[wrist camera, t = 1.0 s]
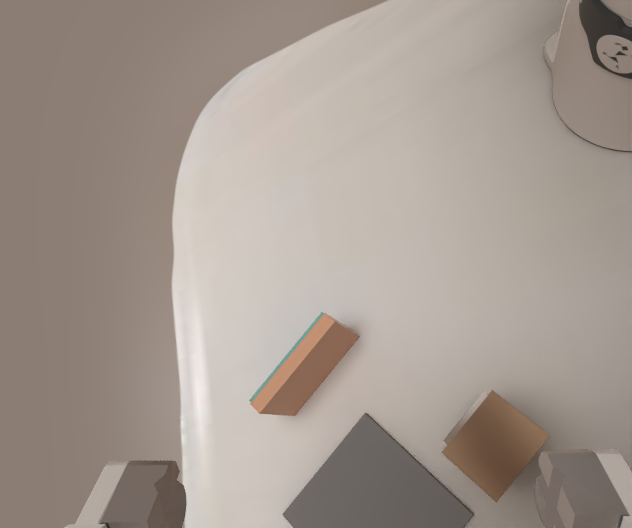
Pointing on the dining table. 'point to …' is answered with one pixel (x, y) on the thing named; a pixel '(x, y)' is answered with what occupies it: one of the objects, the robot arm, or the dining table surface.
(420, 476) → the rest mat
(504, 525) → the dining table surface
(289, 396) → the tile
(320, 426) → the dining table surface
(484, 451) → the tall wooden block
